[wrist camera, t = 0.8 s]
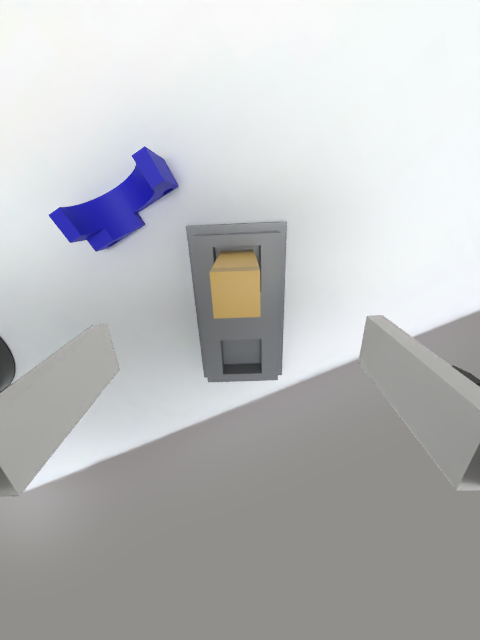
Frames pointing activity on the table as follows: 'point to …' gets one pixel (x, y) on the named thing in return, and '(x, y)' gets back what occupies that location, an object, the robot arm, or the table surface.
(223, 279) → the plug
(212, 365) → the panel
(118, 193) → the cable clip
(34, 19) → the table surface
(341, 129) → the table surface
